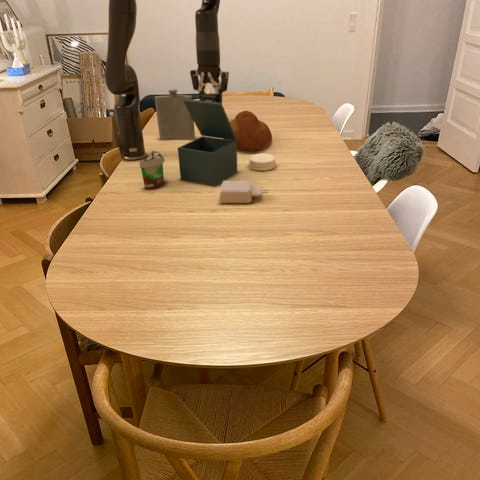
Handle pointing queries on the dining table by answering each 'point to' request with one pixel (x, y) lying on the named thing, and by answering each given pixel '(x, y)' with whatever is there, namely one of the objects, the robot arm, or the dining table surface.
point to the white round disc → (262, 162)
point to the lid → (210, 117)
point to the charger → (239, 191)
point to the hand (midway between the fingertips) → (210, 104)
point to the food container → (153, 170)
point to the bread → (250, 132)
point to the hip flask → (174, 117)
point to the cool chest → (208, 160)
